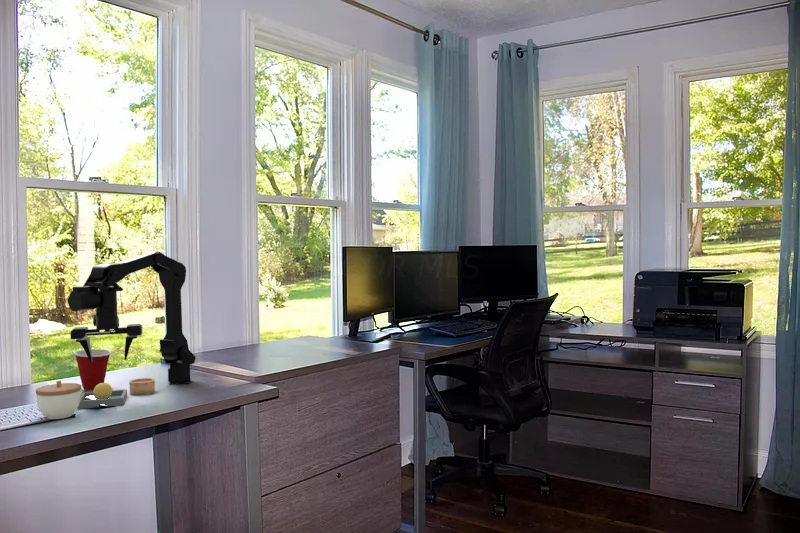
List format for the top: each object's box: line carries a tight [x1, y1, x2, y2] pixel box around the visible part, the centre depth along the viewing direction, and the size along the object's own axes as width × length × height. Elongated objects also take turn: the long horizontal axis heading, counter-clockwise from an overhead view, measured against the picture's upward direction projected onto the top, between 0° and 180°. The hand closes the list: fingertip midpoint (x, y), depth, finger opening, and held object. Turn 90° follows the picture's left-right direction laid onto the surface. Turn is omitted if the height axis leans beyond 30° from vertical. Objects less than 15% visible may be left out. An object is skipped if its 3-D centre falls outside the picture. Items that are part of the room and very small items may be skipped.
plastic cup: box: [73, 348, 112, 391], centre depth 204 cm, size 11×11×12 cm
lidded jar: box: [35, 380, 82, 420], centre depth 170 cm, size 11×11×9 cm
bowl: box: [128, 377, 156, 396], centre depth 198 cm, size 7×7×4 cm
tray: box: [77, 389, 128, 410], centre depth 185 cm, size 12×12×2 cm
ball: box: [92, 382, 113, 399], centre depth 185 cm, size 5×5×5 cm
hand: (108, 360), depth 187 cm, fingers open, 9 cm apart
